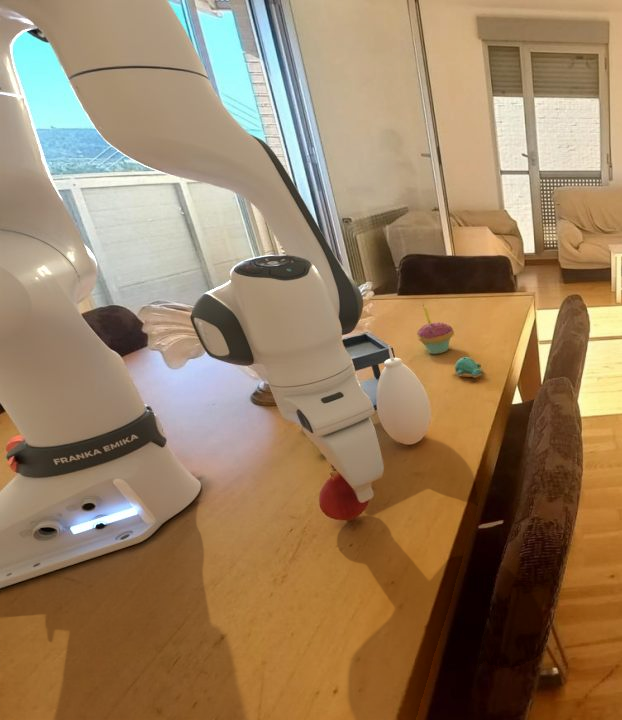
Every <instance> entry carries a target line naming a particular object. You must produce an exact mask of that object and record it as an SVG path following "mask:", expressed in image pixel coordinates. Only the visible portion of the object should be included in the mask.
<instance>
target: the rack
mask: <svg viewBox="0 0 622 720" xmlns="http://www.w3.org/2000/svg"><path fill="white" fill-rule="evenodd" d="M342 342H343V345H344V347H345V349H346V350H347V352H348V353H349V354H350V356H351V358H352V361H353V364H354V368H355V371H356V372H357V371H361V370H364V369H367V368H370V367H371V369H372V373H373V377H372V378H369V379H366V380H363V381H360V384H361V387H362V388H363V390H364V391H365V393H366V394H367V395H368V397H369V398H370V400H371V401H372V404H373V407H374V410H375V411H377V404H376V394H377V386H378V382H379V378H380V375H381V370H380V366H379V365H380V364H381V365H382V364H384V362H385V361H386V360H388V359H390V354H389V349H388V345H389V344H388V343H386V342H385V341H384V340H382V339H380V338H379V337H378V336H375V334H372V333H371V332H370V331H366V332H363V333H359V334H354V335H350V336H346V337H342ZM390 347H391V350H392V353H393V357H394V358H396V355H395V351H394V348H393V347H392V346H391V345H390Z"/></svg>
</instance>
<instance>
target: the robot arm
mask: <svg viewBox="0 0 622 720" xmlns="http://www.w3.org/2000/svg"><path fill="white" fill-rule="evenodd" d="M180 20H181V19H179V17H178V15H177V14H176V12H175V10H174V9H173V7H172V5H171V4H170V2H169V1H168V0H0V405H1V406H2V408H3V409H4V411H5V412H6V414H7V416H8V417H9V418H10V420H11V421H12V423H13V425H14V426H15V428H16V429H17V431H18V432H19V434H20V435H15V436H12V437H11V438H9V439H8V442H7V443H6V446H5V451H6V453H7V454H6V457H5V458H6V460H7V465H8V466H9V467H10V469H11V471H12V472H13V473H16V475H15V476H14V477H13V478H11V480H10V481H9V482H8V483H7V484H6V485H5V486H3V488H2V489H0V589H2V588H5V587H8V586H12V585H15V584H17V583H21V582H24V581H27V580H30V579H32V578H36V577H39V576H42V575H45V574H48V573H52V572H54V571H57V570H60V569H64V568H66V567H69V566H72V565H75V564H78V563H82V562H85V561H88V560H91V559H94V558H97V557H100V556H103V555H106V554H109V553H112V552H116V551H120V550H122V549H124V548H127V547H130V546H133V545H137V544H139V543H142V542H144V541H145V540H147V539H148V538H150V537H151V536H152V535H153V534H154V533H155V532H156V531H157V530H158V529H159V528H161V526H162V525H163V524H165V523H166V522H167V521H168V520H170V519H172V518H173V517H174V516H176V515H177V514H179V513H180V512H182V511H183V510H184V509H186V507H188V506H189V505H190V504H191V503H192V502H193V501H194V500H195V499H196V498H197V496H198V495H199V494H200V491H201V490H202V489H201V488H202V484H201V481H200V480H199V479H198V478H196V477H195V476H194V475H193V474H192V473H191V472H190V471H188V469H187V468H186V467H185V466H184V465H183V464H182V463H181V461H180V460H179V458H177V456H176V454H175V453H174V452H173V451H172V449H171V448H170V446H169V445H168V443H167V442H168V441H167V435H166V432H165V430H164V427H163V425H162V424H161V421H160V419H159V418H158V416H157V414H156V413H155V412H154V410H153V409H152V407H151V406H150V405H149V404H146V403H145V402H144V400H143V397H142V396H141V394H140V391H139V390H138V387H137V385H136V383H135V382H134V380H133V377H132V375H131V374H130V371H129V370H128V368H127V366H126V364H125V360H124V359H123V357H122V356H121V355H120V354H119V353H118V352H117V351H115V350H113V349H111V348H110V347H109V346H108V345H107V344H106V343H105V342H104V341H103V340H102V339H101V338H100V337H99V335H98V334H97V333H96V332H95V331H94V330H93V328H92V327H91V326H90V324H88V322H87V321H86V320H85V318H84V317H83V315H82V313H81V311H80V309H79V306H78V304H80V303H82V302H83V301H85V300H86V299H87V298H88V297H89V296H90V295H91V293H92V292H93V291H94V289H95V286H96V284H97V279H98V270H99V269H98V263H97V260H96V257H95V255H94V254H93V252H92V251H91V250H90V248H88V246H87V245H86V244H85V242H84V240H83V237H82V235H81V233H80V231H79V228H78V227H77V225H76V223H75V221H74V219H73V217H72V214H71V213H70V211H69V210H68V207H67V206H66V204H65V202H64V200H63V198H62V196H61V195H60V192H59V190H58V189H57V186H56V185H55V182H54V181H53V178H52V176H51V172H50V170H49V167H48V164H47V162H46V158H45V156H44V155H45V154H44V152H43V149H42V145H41V142H40V139H39V137H38V133H37V130H36V127H35V124H34V121H33V117H32V114H31V111H30V107H29V103H28V101H27V99H26V95H25V92H24V89H23V86H22V84H21V80H20V77H19V74H18V72H17V69H16V66H15V61H14V56H13V45H14V43H15V41H16V40H17V38H19V36H21V35H22V34H23V33H25V32H26V33H27V34H29V35H30V36H32V37H33V38H35V39H37V40H39V41H42V42H44V43H47V44H49V45H50V47H51V49H52V50H53V53H54V54H55V56H56V59H57V61H58V63H59V65H60V67H61V69H62V71H63V73H64V75H65V77H66V79H67V81H68V84H69V85H70V88H71V90H72V91H73V94H74V96H75V97H76V99H77V101H78V103H79V105H80V106H81V108H82V110H83V111H84V114H85V115H86V117H87V118H88V120H89V121H90V123H91V125H92V126H93V127H94V129H95V130H96V132H97V133H98V134H99V135H100V137H101V138H102V139H103V141H105V142H106V143H107V144H108V145H109V146H111V147H112V148H113V149H115V150H117V152H119V153H120V154H122V155H124V156H125V157H127V158H129V159H130V160H132V161H134V162H135V163H138V164H140V165H142V166H144V167H147V168H149V169H151V170H153V171H157V172H160V173H162V174H166V175H169V176H173V177H176V178H180V179H184V180H190V181H192V182H193V181H194V182H199V183H202V184H207V185H211V186H214V187H218V188H221V189H224V190H225V191H229V192H232V193H233V194H235V195H238V196H239V197H242V198H244V200H246V201H248V202H249V203H250V204H252V205H253V206H254V208H256V209H257V211H258V212H259V213H260V214H261V216H262V218H263V220H264V221H265V223H266V224H267V226H268V227H269V229H270V231H271V232H272V234H273V236H274V237H275V239H276V241H277V242H278V244H279V245H280V247H281V249H282V250H283V252H284V253H285V254H283V255H281V254H280V255H279V254H278V255H277V254H270V255H260V256H256V257H252V258H251V257H250V258H247V259H245V260H243V261H240V262H238V263H237V264H236V265H234V266H233V267H232V269H231V270H230V272H229V273H230V274H229V277H230V279H229V280H228V281H227V282H225V283H224V284H222V285H220V286H218V287H216V288H214V289H211V290H209V291H207V292H203V293H202V294H201V295H200V296H199V297H198V298H197V300H196V302H195V304H194V306H193V307H192V310H191V313H190V317H189V318H190V322H191V325H192V327H193V329H194V332H195V334H196V336H197V338H198V340H199V342H200V345H201V346H202V348H203V350H204V351H205V353H206V354H207V355H208V356H209V357H210V358H213V359H215V360H218V361H221V362H224V363H226V364H231V365H236V366H243V367H248V366H252V365H261V366H263V368H264V370H265V374H266V382H267V384H268V387H269V389H270V392H271V394H272V397H273V399H274V402H275V405H276V406H277V409H278V411H279V414H280V416H281V418H282V419H283V420H285V421H288V422H292V423H295V425H297V426H299V427H300V428H301V430H302V431H303V434H304V435H305V436H306V437H307V439H309V441H310V442H311V443H312V444H313V446H315V447H316V448H317V450H319V452H320V453H321V454H322V455H323V456H324V457H325V459H326V460H327V463H328V466H329V468H330V470H331V471H332V472H333V471H338V472H339V473H340V475H341V476H342V477H343V478H344V479H345V480H346V481H347V483H348V484H349V485H350V486H351V487H352V489H353V492H354V494H355V497H356V498H357V499H358V501H359V502H361V503H363V502H365V501H367V500H369V501H370V500H371V499H373V498H374V496H375V493H374V490H373V487H372V484H373V482H376V481H377V480H379V479H381V478H383V475H384V471H385V466H384V465H385V464H384V460H383V455H382V451H381V446H380V441H379V439H378V434H377V430H376V427H375V424H374V423H373V421H372V419H371V417H373V416H375V414H376V410H374V407H373V404H372V401H371V400H370V398H369V397H368V395H367V394H366V393H365V391H364V390H363V388H362V387H361V384H360V382H361V381H360V378H359V376H358V374H357V371H355V368H354V364H353V361H352V358H351V356H350V354H349V353H348V352H347V350H346V349H345V347H344V345H343V342H342V338H343V336H345V335H349V334H351V333H352V332H353V331H355V329H356V327H357V326H358V324H359V321H360V320H361V317H362V314H363V310H364V297H363V295H362V292H361V290H360V288H359V286H358V284H357V283H356V282H355V280H354V279H353V277H352V276H351V275H350V274H349V272H348V271H347V270H346V268H345V267H344V265H342V263H341V262H340V260H339V259H338V257H337V256H336V254H335V253H334V251H333V249H332V248H331V246H330V244H329V242H328V241H327V238H326V237H325V235H324V233H323V232H322V229H321V228H320V227H319V225H318V222H317V221H316V220H315V217H314V216H313V214H312V212H311V211H310V209H309V207H308V205H307V204H306V202H305V200H304V199H303V197H302V194H301V193H300V192H299V190H298V188H297V186H296V185H295V183H294V181H293V180H292V178H291V176H290V174H289V173H288V172H287V170H286V168H285V166H284V165H283V164H282V162H281V161H280V159H279V158H278V156H277V154H276V153H275V152H274V151H273V149H272V148H271V147H270V145H268V144H267V143H266V142H265V141H264V140H263V139H261V138H259V137H257V136H255V135H253V134H251V133H250V132H248V131H247V130H246V129H245V128H244V127H243V126H242V125H241V124H240V123H239V122H238V121H237V120H236V119H235V118H234V116H233V115H232V114H231V113H230V111H228V109H227V107H225V105H224V104H223V103H222V101H221V100H220V98H219V96H218V94H217V92H216V91H215V89H214V87H213V84H212V82H211V81H210V78H209V76H208V73H207V71H206V69H205V66H204V64H203V63H202V60H201V58H200V56H199V54H198V52H197V50H196V48H195V46H194V44H193V42H192V40H191V39H190V36H189V34H188V32H187V31H186V29H185V27H184V25H183V24H182V22H181V21H180Z"/></svg>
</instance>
